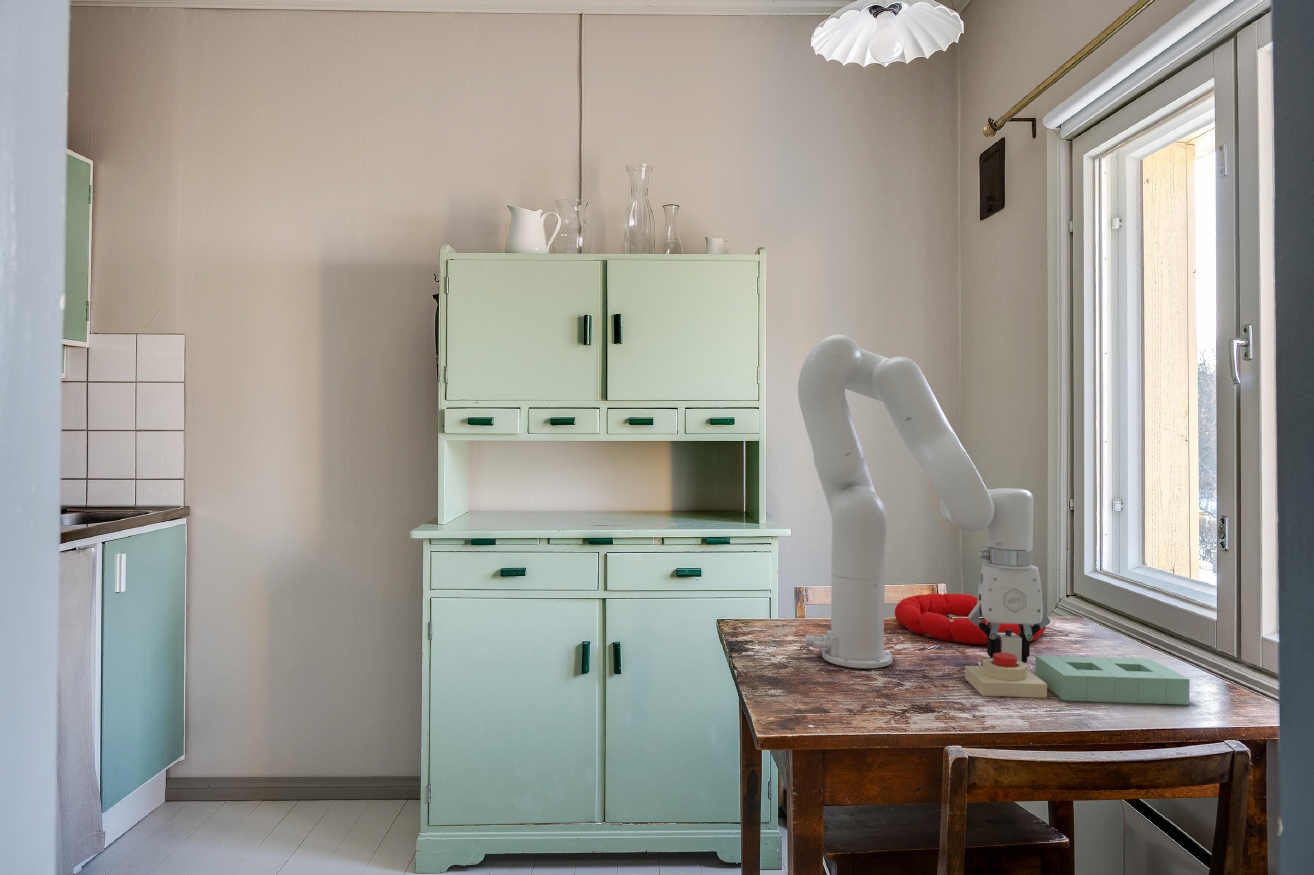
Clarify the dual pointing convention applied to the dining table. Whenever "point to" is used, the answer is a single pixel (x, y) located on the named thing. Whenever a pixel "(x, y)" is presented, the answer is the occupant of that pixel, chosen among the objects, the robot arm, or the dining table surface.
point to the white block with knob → (1010, 643)
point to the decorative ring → (930, 618)
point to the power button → (1005, 660)
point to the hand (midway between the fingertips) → (1008, 659)
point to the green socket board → (1112, 680)
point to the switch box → (1005, 680)
